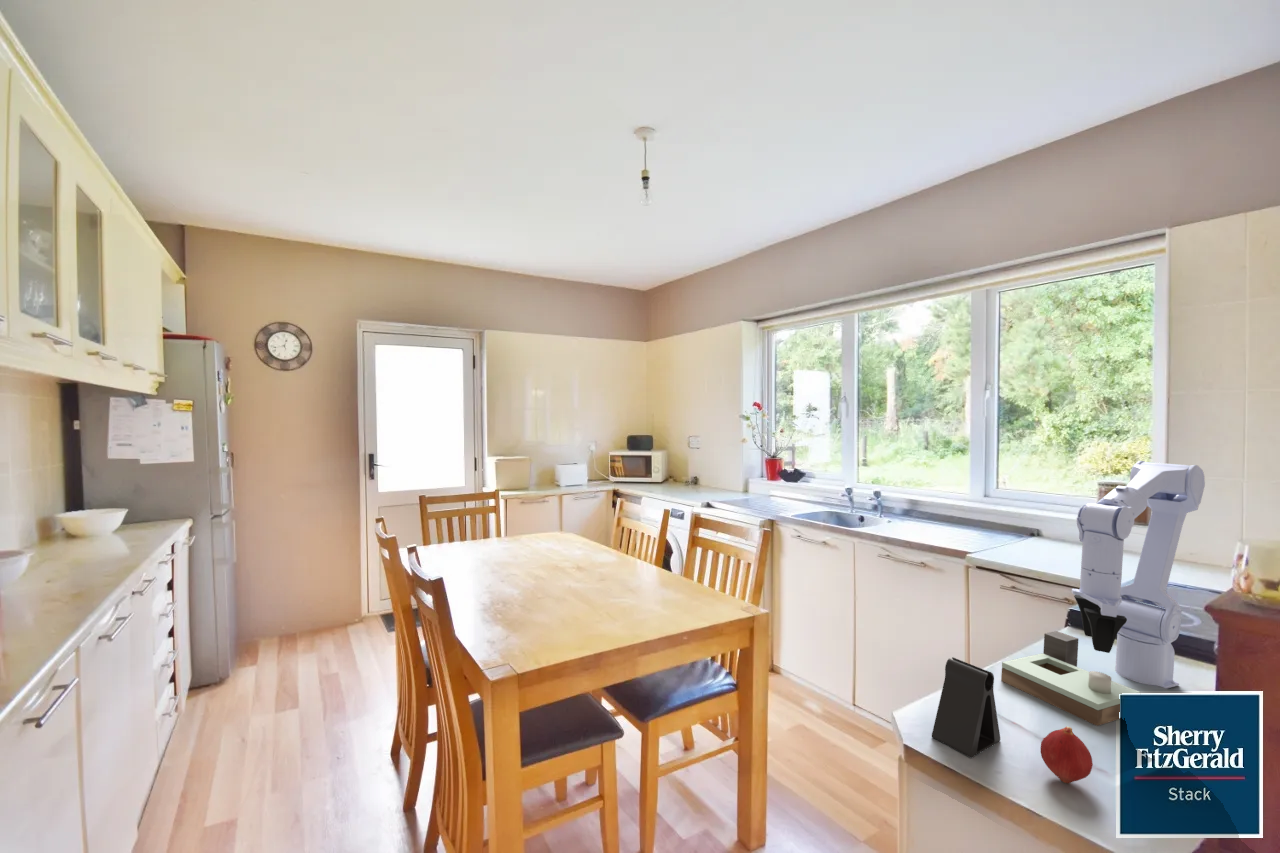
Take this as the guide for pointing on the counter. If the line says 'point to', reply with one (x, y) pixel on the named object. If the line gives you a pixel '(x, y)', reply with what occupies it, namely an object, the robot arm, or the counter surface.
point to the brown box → (1061, 697)
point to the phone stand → (967, 709)
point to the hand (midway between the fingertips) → (1096, 643)
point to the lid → (1070, 681)
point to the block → (1061, 647)
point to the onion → (1066, 755)
